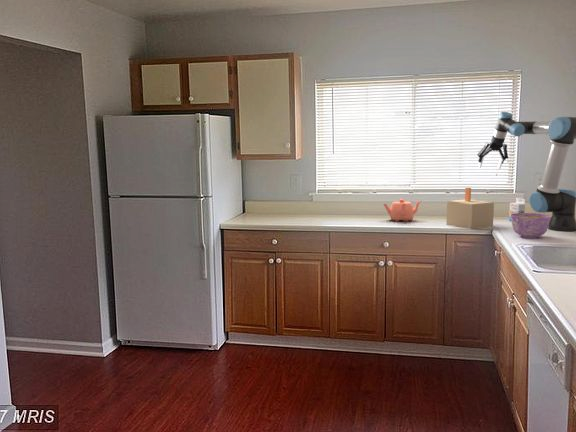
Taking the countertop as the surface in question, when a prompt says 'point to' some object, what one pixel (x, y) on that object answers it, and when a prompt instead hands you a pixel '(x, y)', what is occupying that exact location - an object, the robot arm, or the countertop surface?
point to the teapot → (402, 210)
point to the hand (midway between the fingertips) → (489, 167)
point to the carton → (470, 214)
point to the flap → (467, 197)
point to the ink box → (517, 207)
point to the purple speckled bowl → (530, 224)
